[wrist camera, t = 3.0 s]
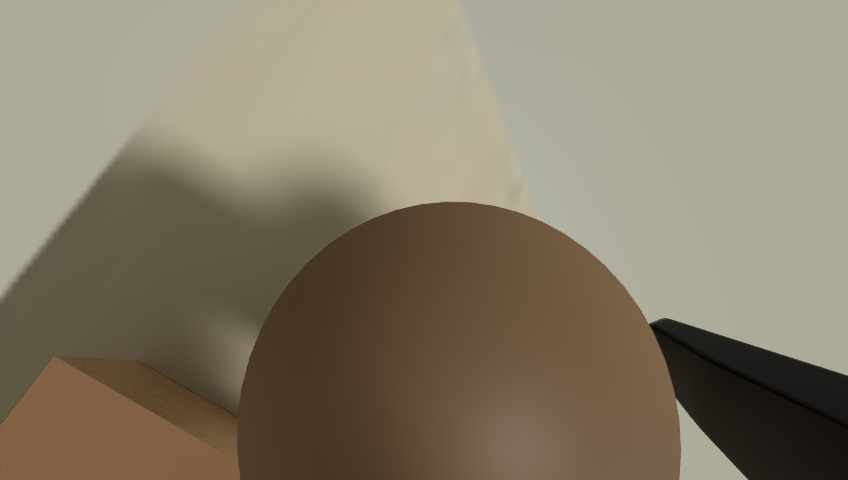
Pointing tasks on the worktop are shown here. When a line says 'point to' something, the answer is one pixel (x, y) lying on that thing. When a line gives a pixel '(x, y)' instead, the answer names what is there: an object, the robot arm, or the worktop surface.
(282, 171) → the worktop surface
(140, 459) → the hollow square frame
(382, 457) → the pin
